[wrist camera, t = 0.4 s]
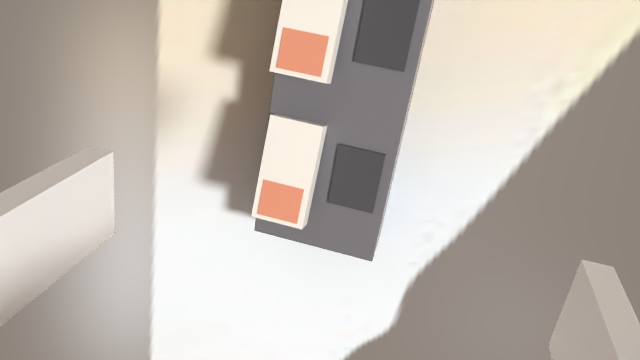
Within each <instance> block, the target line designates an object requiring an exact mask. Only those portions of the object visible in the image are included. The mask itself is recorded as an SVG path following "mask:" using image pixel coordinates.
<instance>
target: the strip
mask: <svg viewBox="0 0 640 360" xmlns="http://www.w3.org/2000/svg"><path fill="white" fill-rule="evenodd" d="M433 4H434V0H348V4H347V8H346V13H345V18H344V23H343V28H342V32H341V37H340V42H339V47H338V52H337V56H336V61H335V66H334V71H333V76H332V80H331V84H326V83H321V82H317V81H312V80H307V79H303V78H298V77H294V76H289V75H284V74H280V73H275V74H274V82H273V90H272V97H271V105H270V113H269V119H270V115H272V114H280V115H284V116H289V117H293V118H298V119H302V120H306V121H311V122H315V123H319V124H324V125H328V126H327V131H326V135H325V140H324V145H323V150H322V154H321V159H320V164H319V169H318V173H317V178H316V183H315V188H314V193H313V197H312V202H311V207H310V212H309V216H308V221H307V225H306V226H305V227H304V228H303V229H298V228H294V227H290V226H286V225H282V224H279V223H275V222H271V221H267V220H263V219H259V218H256V222H255V231H258V232H262V233H266V234H270V235H274V236H277V237H281V238H285V239H289V240H293V241H296V242H300V243H304V244H308V245H312V246H315V247H319V248H323V249H327V250H331V251H334V252H338V253H342V254H346V255H350V256H353V257H357V258H361V259H365V260H369V261H372V260H373V257H374V253H375V250H376V247H377V243H378V240H379V236H380V232H381V228H382V223H383V219H384V215H385V211H386V206H387V202H388V198H389V193H390V189H391V185H392V180H393V176H394V172H395V167H396V163H397V159H398V155H399V150H400V146H401V142H402V137H403V133H404V129H405V124H406V120H407V116H408V111H409V107H410V103H411V98H412V94H413V90H414V86H415V81H416V77H417V73H418V68H419V64H420V60H421V55H422V51H423V47H424V42H425V38H426V34H427V29H428V25H429V21H430V17H431V12H432V8H433ZM268 124H269V121H268ZM267 130H268V129H267Z"/></svg>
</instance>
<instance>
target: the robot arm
mask: <svg viewBox="0 0 640 360" xmlns="http://www.w3.org/2000/svg"><path fill="white" fill-rule="evenodd" d="M113 165H114V162H113V151H110V150H105V149H101V148H97V147H92V146H89V147H87V148H85V149H83V150H81V151H79V152H77V153H75V154H73V155H71V156H70V157H68V158H66V159H64V160H62V161H60V162H58V163H56V164H55V165H53V166H51V167H49V168H47V169H45V170H43V171H41V172H39V173H37V174H35V175H34V176H32V177H30V178H28V179H26V180H24V181H22V182H20V183H18V184H17V185H15V186H13V187H11V188H9V189H7V190H5V191H3V192H1V193H0V326H1V325H3V324H4V323H5V322H6V321H7V320H9V319H10V318H11V317H12V316H14V315H15V314H16V313H17V312H19V311H20V310H21V309H22V308H23V307H25V306H26V305H27V304H28V303H30V302H31V301H32V300H33V299H35V298H36V297H37V296H38V295H39V294H41V293H42V292H43V291H44V290H45V289H47V288H48V287H49V286H50V285H52V284H53V283H54V282H55V281H57V280H58V279H59V278H60V277H61V276H63V275H64V274H65V273H66V272H68V271H69V270H70V269H71V268H73V267H74V266H75V265H76V264H77V263H79V262H80V261H81V260H82V259H84V258H85V257H86V256H87V255H89V254H90V253H91V252H92V251H93V250H95V249H96V248H97V247H98V246H100V245H101V244H102V243H103V242H105V241H106V240H107V239H108V238H109V237H110V236H112V235H113V234H114V233H115V220H114V219H115V218H114V166H113ZM549 349H550V353H551V358H552V360H640V324H639V321H638V319H637V317H636V315H635V313H634V311H633V308H632V306H631V304H630V302H629V300H628V298H627V296H626V293H625V291H624V289H623V287H622V285H621V283H620V281H619V278H618V276H617V274H616V272H615V270H614V268H613V267H611V266H607V265H603V264H598V263H594V262H590V261H585V260H581V263H580V265H579V268H578V270H577V273H576V276H575V278H574V281H573V283H572V286H571V289H570V291H569V294H568V296H567V299H566V301H565V304H564V306H563V309H562V311H561V314H560V317H559V319H558V322H557V324H556V327H555V329H554V332H553V335H552V337H551V340H550V342H549Z"/></svg>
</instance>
